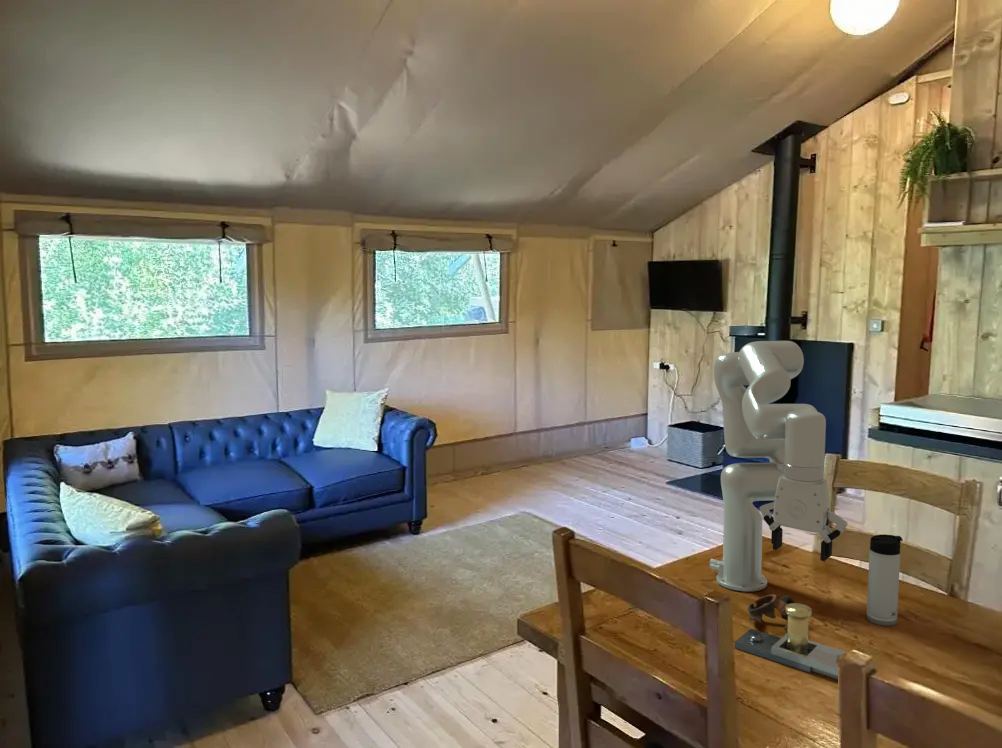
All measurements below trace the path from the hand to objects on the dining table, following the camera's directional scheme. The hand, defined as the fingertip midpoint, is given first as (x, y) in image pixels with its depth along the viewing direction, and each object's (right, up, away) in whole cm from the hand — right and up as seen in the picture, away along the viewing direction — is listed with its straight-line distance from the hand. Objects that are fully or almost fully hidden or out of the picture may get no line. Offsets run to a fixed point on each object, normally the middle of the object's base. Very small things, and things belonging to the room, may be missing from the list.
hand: (800, 553), depth 154 cm
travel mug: (+26, -20, +19) cm, 39 cm away
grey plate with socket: (0, -23, +3) cm, 23 cm away
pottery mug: (+1, -21, +18) cm, 27 cm away
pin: (0, -23, +3) cm, 23 cm away
